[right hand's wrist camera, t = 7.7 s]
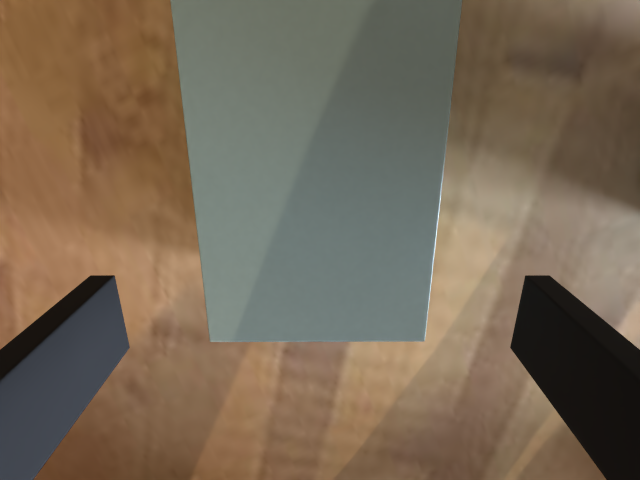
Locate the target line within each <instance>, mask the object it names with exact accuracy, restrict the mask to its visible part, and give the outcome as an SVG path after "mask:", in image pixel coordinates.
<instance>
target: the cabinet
mask: <svg viewBox="0 0 640 480" xmlns="http://www.w3.org/2000/svg"><path fill="white" fill-rule="evenodd" d="M170 1H171V9H172V18H173V27H174V35H175V44H176V53H177V61H178V70H179V79H180V87H181V96H182V104H183V113H184V122H185V130H186V139H187V148H188V156H189V165H190V174H191V182H192V191H193V200H194V208H195V217H196V226H197V234H198V243H199V252H200V260H201V269H202V278H203V286H204V295H205V304H206V312H207V321H208V329H209V338H210V342H355V341H425V334H426V325H427V316H428V307H429V298H430V289H431V280H432V271H433V262H434V252H435V243H436V234H437V225H438V216H439V207H440V198H441V189H442V180H443V171H444V161H445V152H446V143H447V134H448V125H449V116H450V107H451V98H452V89H453V80H454V70H455V61H456V52H457V43H458V34H459V25H460V16H461V7H462V0H170Z"/></svg>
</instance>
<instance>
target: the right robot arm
mask: <svg viewBox="0 0 640 480" xmlns="http://www.w3.org/2000/svg"><path fill="white" fill-rule="evenodd" d="M129 348H130V347H129V342H128V337H127V333H126V328H125V323H124V318H123V314H122V309H121V304H120V299H119V294H118V290H117V285H116V280H115V276H89V277H88V278H87V279H86V280H85V281H83V282H82V283H81V284H80V285H79V286H77V287H76V288H75V289H74V290H72V291H71V292H70V293H69V294H68V295H66V296H65V297H64V298H63V299H62V300H60V301H59V302H58V303H57V304H55V305H54V306H53V307H52V308H51V309H49V310H48V311H47V312H46V313H44V314H43V315H42V316H41V317H40V318H38V319H37V320H36V321H35V322H34V323H32V324H31V325H30V326H29V327H27V328H26V329H25V330H24V331H23V332H21V333H20V334H19V335H18V336H16V337H15V338H14V339H13V340H12V341H10V342H9V343H8V344H7V345H6V346H4V347H3V348H2V349H1V350H0V480H33V479H34V478H35V476H36V475H37V474H38V472H39V471H40V470H41V468H42V467H43V465H44V464H45V463H46V461H47V460H48V459H49V457H50V456H51V454H52V453H53V452H54V450H55V449H56V448H57V446H58V445H59V444H60V442H61V441H62V439H63V438H64V437H65V435H66V434H67V433H68V431H69V430H70V428H71V427H72V426H73V424H74V423H75V422H76V420H77V419H78V418H79V416H80V415H81V413H82V412H83V411H84V409H85V408H86V407H87V405H88V404H89V402H90V401H91V400H92V398H93V397H94V396H95V394H96V393H97V392H98V390H99V389H100V387H101V386H102V385H103V383H104V382H105V381H106V379H107V378H108V376H109V375H110V374H111V372H112V371H113V370H114V368H115V367H116V366H117V364H118V363H119V361H120V360H121V359H122V357H123V356H124V355H125V353H126V352H127V350H128V349H129ZM510 348H511V349H512V350H513V352H514V353H515V355H516V356H517V357H518V359H519V360H520V361H521V363H522V364H523V366H524V367H525V368H526V370H527V371H528V372H529V374H530V375H531V376H532V378H533V379H534V381H535V382H536V383H537V385H538V386H539V387H540V389H541V390H542V392H543V393H544V394H545V396H546V397H547V398H548V400H549V401H550V402H551V404H552V405H553V407H554V408H555V409H556V411H557V412H558V413H559V415H560V416H561V418H562V419H563V420H564V422H565V423H566V424H567V426H568V427H569V428H570V430H571V431H572V433H573V434H574V435H575V437H576V438H577V439H578V441H579V442H580V444H581V445H582V446H583V448H584V449H585V450H586V452H587V453H588V454H589V456H590V457H591V459H592V460H593V461H594V463H595V464H596V465H597V467H598V468H599V470H600V471H601V472H602V474H603V475H604V476H605V478H606V479H607V480H640V350H639V349H638V348H637V347H636V346H634V345H633V344H632V343H631V342H630V341H628V340H627V339H626V338H625V337H623V336H622V335H621V334H620V333H619V332H617V331H616V330H615V329H614V328H613V327H611V326H610V325H609V324H608V323H606V322H605V321H604V320H603V319H602V318H600V317H599V316H598V315H597V314H596V313H594V312H593V311H592V310H591V309H589V308H588V307H587V306H586V305H585V304H583V303H582V302H581V301H580V300H578V299H577V298H576V297H575V296H574V295H572V294H571V293H570V292H569V291H568V290H566V289H565V288H564V287H563V286H561V285H560V284H559V283H558V282H557V281H555V280H554V279H553V278H552V277H551V276H525V280H524V285H523V290H522V294H521V299H520V304H519V309H518V314H517V318H516V323H515V328H514V333H513V337H512V342H511V347H510Z"/></svg>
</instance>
